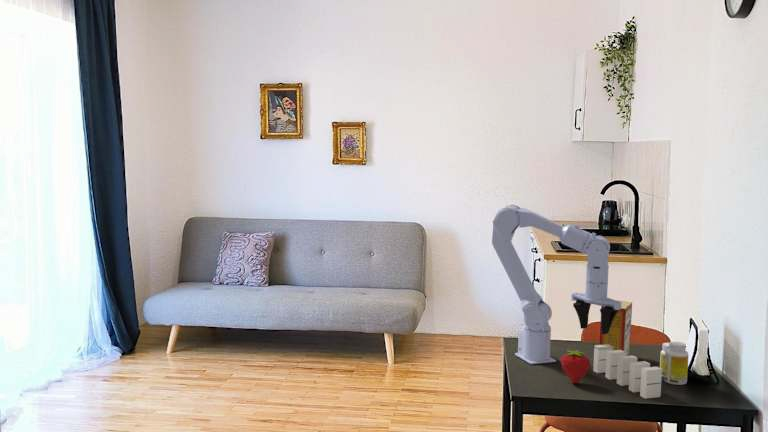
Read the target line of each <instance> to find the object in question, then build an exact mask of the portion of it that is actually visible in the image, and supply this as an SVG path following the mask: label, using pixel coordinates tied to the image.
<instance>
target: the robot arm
mask: <svg viewBox="0 0 768 432" xmlns="http://www.w3.org/2000/svg"><path fill="white" fill-rule="evenodd" d="M527 227H532V228H535V229H538V230H541V231H543V232H545V233H548V234H549V235H553V236H555V237H558V239H559V241H560V243H561V244H562V245H564V246H566V247H568V248H571V249H573V250H575V251H578V252H580V253H582V254H584V253H585V254H586V255H587V263H586V272H585V275H586V276H585V291H584V292H585V293H582V292H581V293H580V292H573V293H571V301H574V302H573V304H572V306H573V308H574V309H575V311H576V314H577V317H578V321H579V327H580V329H582V330H584V329H587V328H588V325H589V315H590V314H589V313H590V309H591V305H596V306H599V307H601V306H604V307H605V308H602V309H601V308H600V309H599V311H600V318H601V317H602V334H607V333H609V329H610V326H611V323H612V321H613V319H614V317H615V315H616V314H617V312H618V311H619V309H621V303H622V302H619V301H620V300H616V299H612V298H610V297H608V285H609V284H608V283H609V269H610V268H609V261H610V260H609V254H610V249H611V244H610V242H609V240H608V239H606V237H604V236H603V235H597V233H595V232H592V233H591V232H589V231H586V230H584V229H583V228H580V225H579V224H574V225H573V224H567V225H564V226H563V225H561V224H559V223H557V222H555V221H554V220H551V219H549V218H547V217H545V216H543V215H540V214H539V213H537V212H535V211H532V210H530V209H528V208H525V207H519V206H518V205H516V204H509V205H506V206H505V207H503V208H501V209H499V210H498V211H497V213H496V214H495V216H494V218H493V220H492V237H491V243H492V246H493V249H494V250H495V252H496V255H497V257H498V258H499V260H500V263H501V264H502V266H503V268H504V270H505V272H506V274H507V276H508V278H509V280H510V283H511V285H512V286H513V288H514V291H515V293H516V294H517V297H518V298H519V300H520V306H521V310H522V313H523V314H524V315H523V318H524V320H523V321H524V323H525V324H524V325H523V326H522V327H521V328H520V329H519V330H518V331H519V332H518V340H517V341H518V343H517V352H514V355H515V356H516V357H518V358H520V359H521V360H523V361H525V362H527V363H528V364H529V365H538V364H548V363H556V362H557V360H556V359H554V358H553V357H551V339H552V337H551V336H552V334H551V333H552V327H551V325H550V324H549V321H550V320H551V319H552V316H553V314H552V309H551V307H550V305H549V304H548V303H547V302H546V301H544V300H543V298H542V295H540V293H538V292H537V290H536V288H535V286H534V285H533V282H532V280H531V277H530V276H529V274H528V272H527V270H526V268H525V266H524V264H523V263H522V261H521V258H520V257H519V255H518V252H517V250H516V249H515V246H514V244H513V242H512V240H513V237H514V236H515V232H516V230H517V229H518V228H520V229H521V228H527Z"/></svg>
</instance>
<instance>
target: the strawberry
mask: <svg viewBox="0 0 768 432" xmlns="http://www.w3.org/2000/svg"><path fill="white" fill-rule="evenodd" d="M566 352H569V353H564V354H563V356H561V359H560V364H561V368H562V370H563V371H564V373H565V375H566V376H567V377H568V378H569V380H570V381H571V382H572V383H573V384H577V383H579V381H581V380H582V379H583V378H584V377H585V376H586V375H587V373H588V372H589V370H590V367H591V362H590V360H589V358H588V357H587V356H586V354H585V352H582V351H579V350H578V349H577V350H566Z"/></svg>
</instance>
